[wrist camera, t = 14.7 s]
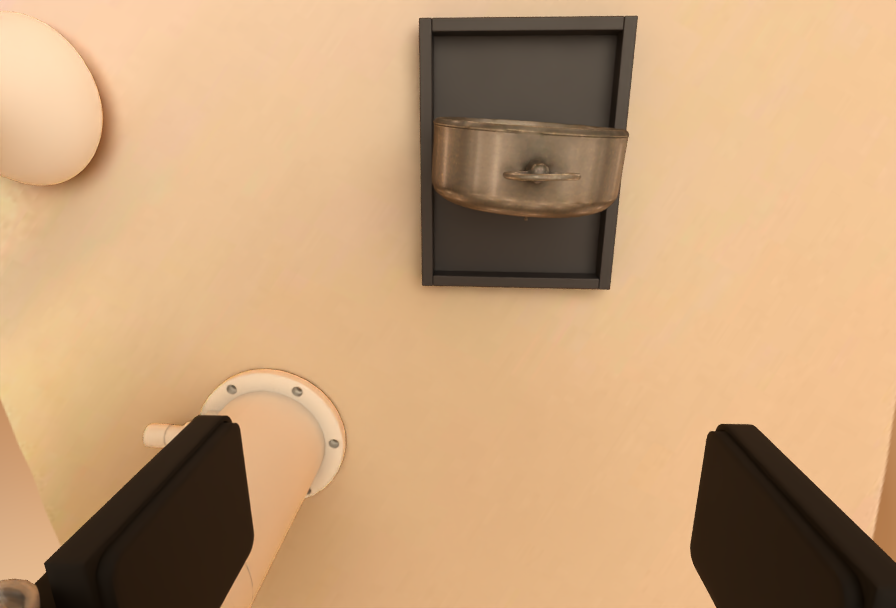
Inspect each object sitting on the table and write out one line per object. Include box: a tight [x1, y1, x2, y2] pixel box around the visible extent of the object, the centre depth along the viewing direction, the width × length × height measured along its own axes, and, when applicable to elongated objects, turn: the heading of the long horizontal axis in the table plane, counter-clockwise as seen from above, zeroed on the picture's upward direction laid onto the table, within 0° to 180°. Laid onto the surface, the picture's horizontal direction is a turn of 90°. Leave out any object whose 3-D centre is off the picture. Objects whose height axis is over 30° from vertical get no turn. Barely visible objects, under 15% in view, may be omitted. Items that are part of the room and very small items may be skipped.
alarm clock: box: [432, 117, 629, 220], centre depth 29 cm, size 11×5×16 cm, turn 86°
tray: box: [419, 16, 638, 290], centre depth 36 cm, size 14×18×2 cm
